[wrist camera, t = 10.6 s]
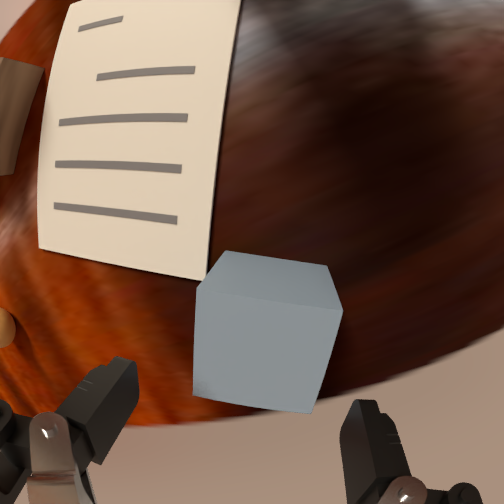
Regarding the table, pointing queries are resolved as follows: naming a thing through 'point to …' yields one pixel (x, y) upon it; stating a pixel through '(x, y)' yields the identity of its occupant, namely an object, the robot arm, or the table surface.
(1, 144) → the walnut block
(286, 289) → the slate cube
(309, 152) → the table surface
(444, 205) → the table surface
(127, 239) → the letter
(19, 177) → the table surface
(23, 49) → the table surface
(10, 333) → the figurine
